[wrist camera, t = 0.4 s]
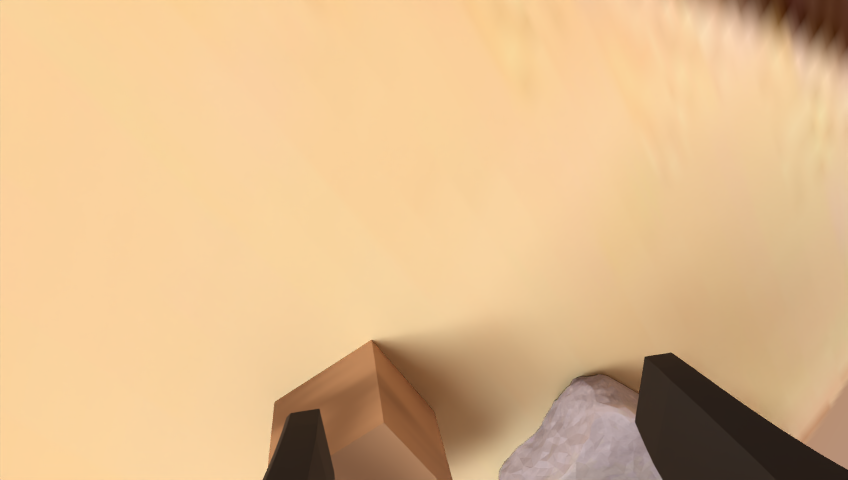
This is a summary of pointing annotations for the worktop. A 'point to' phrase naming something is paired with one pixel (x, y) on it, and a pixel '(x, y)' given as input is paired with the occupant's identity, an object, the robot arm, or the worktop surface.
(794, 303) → the worktop surface
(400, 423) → the walnut cube
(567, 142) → the worktop surface
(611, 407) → the stone block
